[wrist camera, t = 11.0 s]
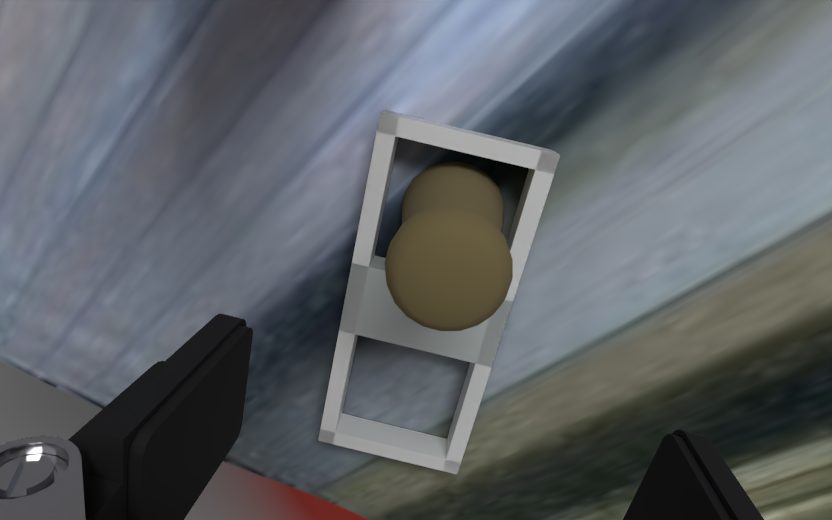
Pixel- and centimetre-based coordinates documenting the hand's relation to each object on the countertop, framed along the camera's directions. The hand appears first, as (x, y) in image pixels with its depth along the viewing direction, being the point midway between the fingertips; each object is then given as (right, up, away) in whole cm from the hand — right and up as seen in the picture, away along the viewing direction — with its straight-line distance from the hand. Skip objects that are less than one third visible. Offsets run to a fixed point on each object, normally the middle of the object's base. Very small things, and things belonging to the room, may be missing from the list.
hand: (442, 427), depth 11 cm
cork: (+2, +7, +18) cm, 19 cm away
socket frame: (0, +1, +20) cm, 20 cm away
